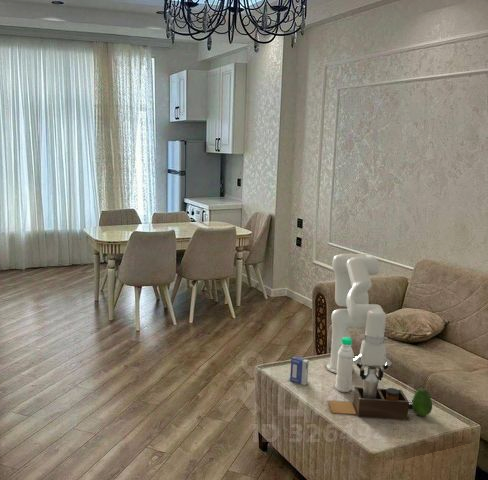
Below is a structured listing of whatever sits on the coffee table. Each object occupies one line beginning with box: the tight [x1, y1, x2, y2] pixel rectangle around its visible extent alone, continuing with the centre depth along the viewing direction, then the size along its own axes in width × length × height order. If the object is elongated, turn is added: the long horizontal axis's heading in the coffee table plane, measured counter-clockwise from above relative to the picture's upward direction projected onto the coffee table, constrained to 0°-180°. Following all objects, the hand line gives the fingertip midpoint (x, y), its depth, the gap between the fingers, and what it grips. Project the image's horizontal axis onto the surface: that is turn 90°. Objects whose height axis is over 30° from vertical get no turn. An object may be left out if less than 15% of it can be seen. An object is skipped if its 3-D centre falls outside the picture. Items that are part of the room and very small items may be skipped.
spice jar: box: [385, 387, 400, 400], centre depth 230 cm, size 5×5×10 cm
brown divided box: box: [352, 386, 410, 420], centre depth 231 cm, size 11×20×8 cm, turn 84°
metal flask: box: [362, 365, 380, 399], centre depth 230 cm, size 6×7×20 cm
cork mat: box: [328, 400, 357, 415], centre depth 234 cm, size 10×10×1 cm
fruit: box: [411, 387, 433, 417], centre depth 228 cm, size 8×8×12 cm
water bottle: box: [334, 337, 355, 393], centre depth 249 cm, size 7×7×25 cm
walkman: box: [289, 355, 310, 386], centre depth 257 cm, size 8×3×12 cm, turn 54°
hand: (370, 378), depth 229 cm, fingers closed on metal flask, 6 cm apart
